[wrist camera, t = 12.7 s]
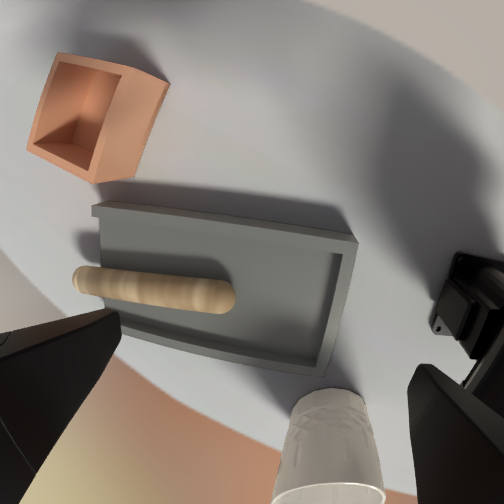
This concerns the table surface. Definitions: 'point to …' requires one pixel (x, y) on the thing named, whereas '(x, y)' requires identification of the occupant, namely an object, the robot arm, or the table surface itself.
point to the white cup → (329, 453)
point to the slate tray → (234, 283)
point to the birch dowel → (156, 289)
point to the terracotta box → (95, 117)
